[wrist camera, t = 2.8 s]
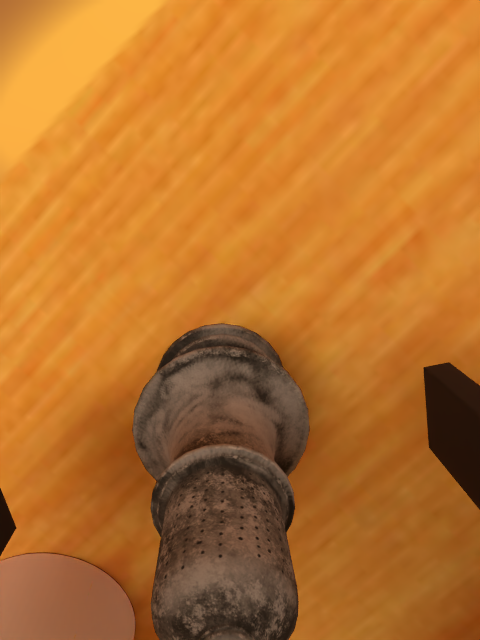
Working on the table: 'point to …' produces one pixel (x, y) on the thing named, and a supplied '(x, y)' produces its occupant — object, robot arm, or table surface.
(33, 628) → the beige cylinder
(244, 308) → the table surface
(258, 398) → the salt shaker
